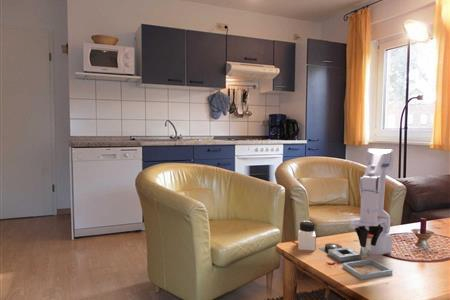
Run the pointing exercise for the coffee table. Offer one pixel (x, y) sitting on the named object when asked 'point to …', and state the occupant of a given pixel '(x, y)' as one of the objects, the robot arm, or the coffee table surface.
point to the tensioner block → (341, 253)
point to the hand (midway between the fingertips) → (367, 245)
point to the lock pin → (367, 245)
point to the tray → (368, 275)
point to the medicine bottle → (306, 236)
